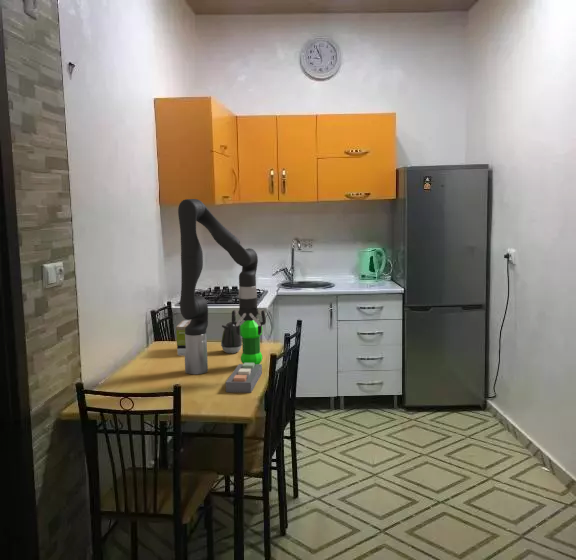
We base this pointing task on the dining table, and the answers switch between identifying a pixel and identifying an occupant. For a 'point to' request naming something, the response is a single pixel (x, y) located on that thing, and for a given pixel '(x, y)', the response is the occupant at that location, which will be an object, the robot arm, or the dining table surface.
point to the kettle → (230, 339)
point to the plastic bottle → (250, 343)
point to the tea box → (181, 337)
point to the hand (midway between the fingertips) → (249, 334)
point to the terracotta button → (240, 378)
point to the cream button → (244, 372)
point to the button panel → (241, 385)
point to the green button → (248, 365)
